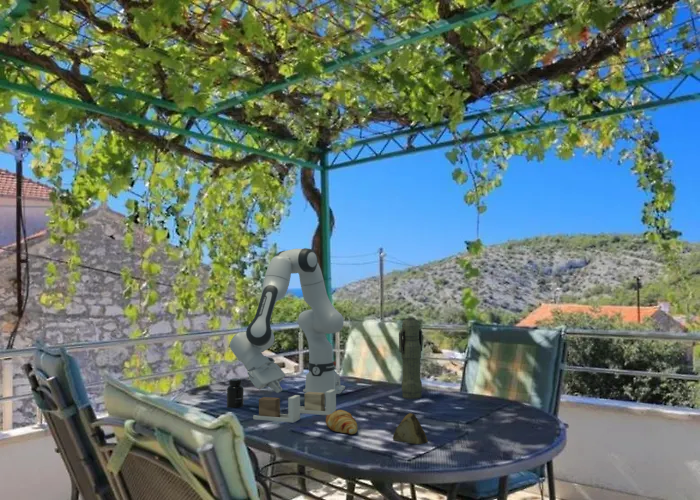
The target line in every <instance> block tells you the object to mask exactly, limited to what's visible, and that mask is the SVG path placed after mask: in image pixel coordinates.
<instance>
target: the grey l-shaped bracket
mask: <svg viewBox="0 0 700 500" xmlns="http://www.w3.org/2000/svg"><path fill="white" fill-rule="evenodd" d="M287 405H288V406H287V408H288V409H287V411H288V413H285V414H284V413H280V417H269V416H259V415H255V414H253V417H252V419H253V420H255V421H256V420H258V421H271V422H283V423H296V422H297V421H299V420H301V413H300V406H301V395H299V394H295V395H292V396H289V397H288V398H287Z"/></svg>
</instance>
